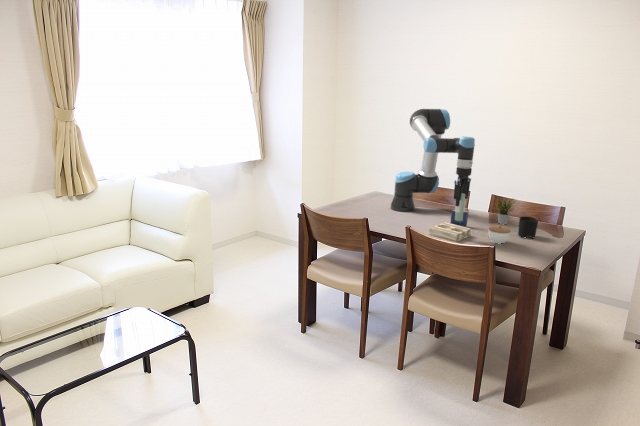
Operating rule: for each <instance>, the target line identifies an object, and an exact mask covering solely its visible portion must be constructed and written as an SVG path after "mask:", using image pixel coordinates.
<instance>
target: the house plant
mask: <svg viewBox="0 0 640 426" xmlns="http://www.w3.org/2000/svg"><path fill="white" fill-rule="evenodd" d="M502 198H503V199H502V200H503V203H502V201H501V200H500V199H499V198H497V197H496V199H497V200H496V202H497V205H496V206H495V208H497V210H498V212H497V224H498V223H500V224H499V225H501V224H507V225H508V224H509V220H510V217H511V213H509V212H514V211H515V210H516V209H515V208H513V209H512V208H511V207H513V204H515V203H517V202H518V203H519V202H521V201H519V200H517V201H513V200H514V199H515V197H513V198H511V199H509V201H508V202H507V199H506V197H503V196H502Z"/></svg>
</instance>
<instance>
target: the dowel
mask: <svg viewBox="0 0 640 426" xmlns="http://www.w3.org/2000/svg"><path fill="white" fill-rule="evenodd" d="M460 200H461V208H460V212H455V220H457V221H462V220H463V212H464V211H465V210H464V203H465V204H466V201H465V194H464V193H462V195H461V199H460Z"/></svg>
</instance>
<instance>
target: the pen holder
mask: <svg viewBox="0 0 640 426" xmlns="http://www.w3.org/2000/svg"><path fill="white" fill-rule="evenodd" d="M518 220H519V221H518V231H517V236H518V235H519V236H521V237H526V238H533V237H535V238H536V233H537V229H538V224H539V220H537V219H536V218H535V217H531V216H520V217H519V219H518ZM519 236H518V237H519ZM521 237H520V238H521ZM526 238H525V239H526ZM533 239H534V238H533Z"/></svg>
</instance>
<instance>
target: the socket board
mask: <svg viewBox="0 0 640 426" xmlns="http://www.w3.org/2000/svg"><path fill="white" fill-rule="evenodd" d="M450 223H451V222H450ZM450 223H449V222H446V221H444V222H442V223H438V224H437V225H434V226H431V227H429V234H428V235H429V236H431V237H432V236H433V237H437V238H439V239H442V238H443V240H447V241H449V242H454V243H457V242H460V241H461V240H464V239H467V238H469V237H471V236H472V235H471V234H472V228H469V227H462V226H458V225H454V224H450Z"/></svg>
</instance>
